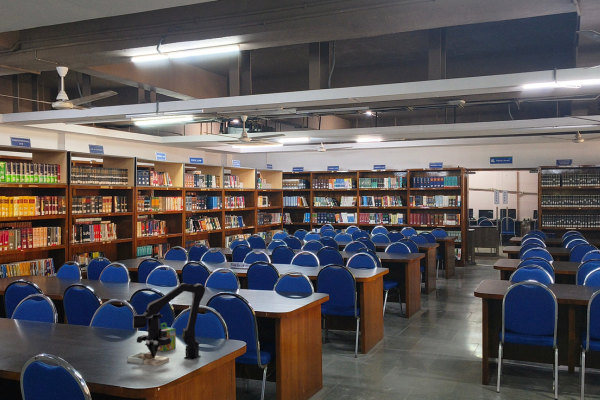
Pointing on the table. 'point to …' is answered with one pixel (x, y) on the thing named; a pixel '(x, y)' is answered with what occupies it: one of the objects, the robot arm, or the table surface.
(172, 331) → the chalk box
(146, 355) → the tile
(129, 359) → the tray
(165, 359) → the beige square slab
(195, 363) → the table surface
